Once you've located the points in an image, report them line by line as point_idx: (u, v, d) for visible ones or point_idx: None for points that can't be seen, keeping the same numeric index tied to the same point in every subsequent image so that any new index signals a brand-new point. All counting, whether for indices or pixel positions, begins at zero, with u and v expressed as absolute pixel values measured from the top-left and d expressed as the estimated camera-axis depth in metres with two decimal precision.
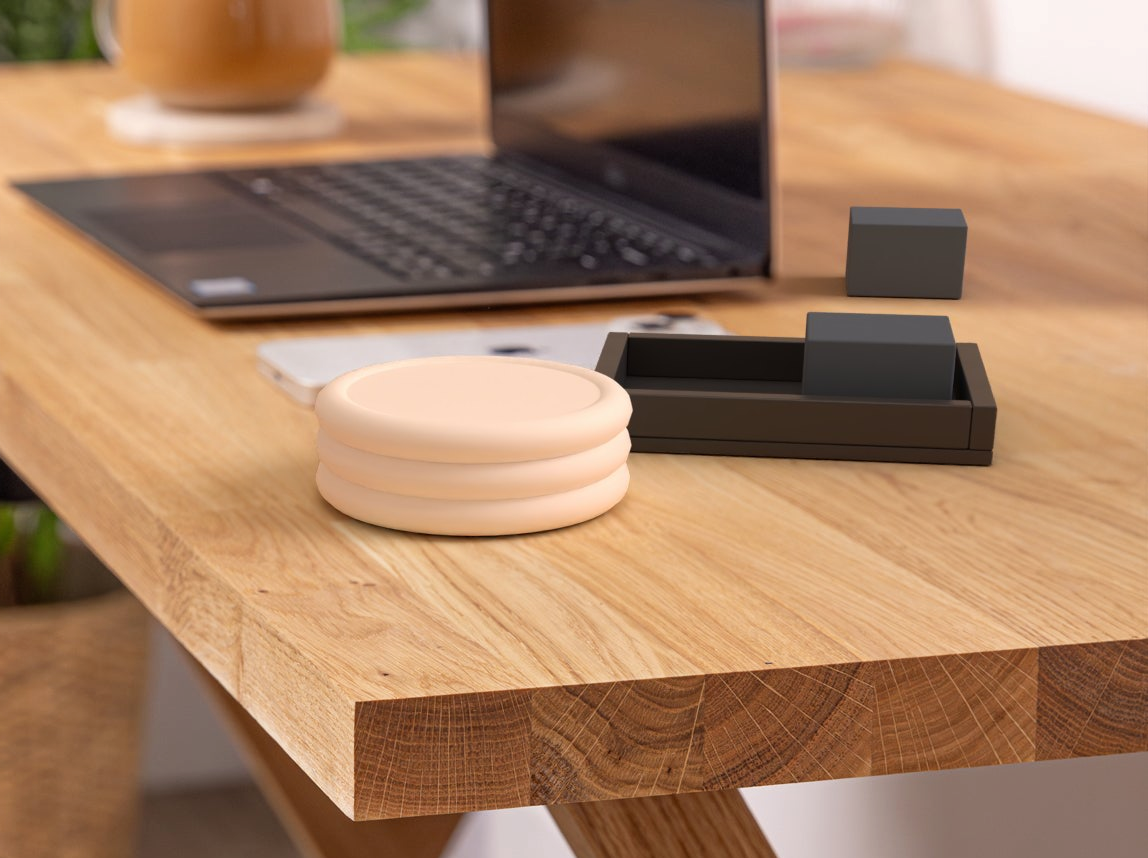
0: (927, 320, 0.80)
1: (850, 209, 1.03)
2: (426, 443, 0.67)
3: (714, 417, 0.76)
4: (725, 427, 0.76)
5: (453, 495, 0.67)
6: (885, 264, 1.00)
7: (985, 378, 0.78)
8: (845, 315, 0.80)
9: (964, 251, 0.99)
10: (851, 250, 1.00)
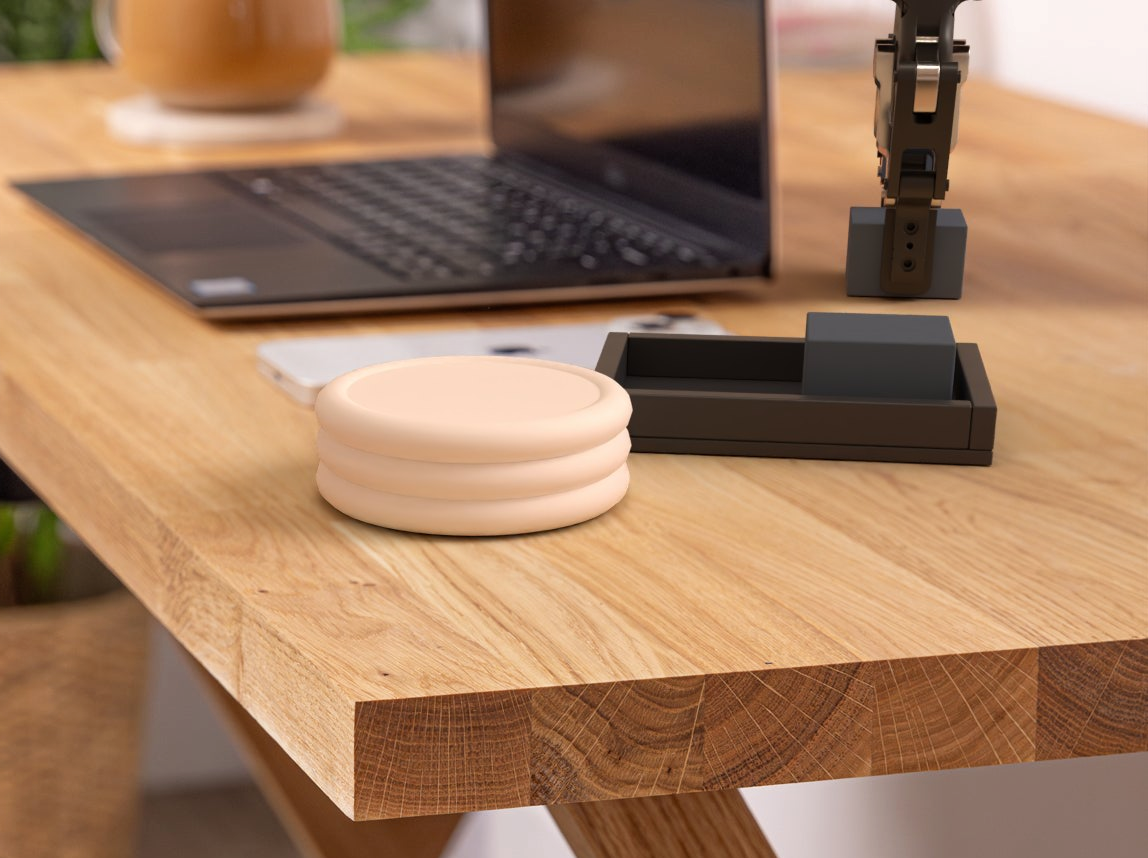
0: (927, 320, 0.80)
1: (850, 209, 1.03)
2: (426, 443, 0.67)
3: (714, 417, 0.76)
4: (725, 427, 0.76)
5: (453, 495, 0.67)
6: None
7: (985, 378, 0.78)
8: (845, 315, 0.80)
9: (964, 251, 0.99)
10: (851, 250, 1.00)
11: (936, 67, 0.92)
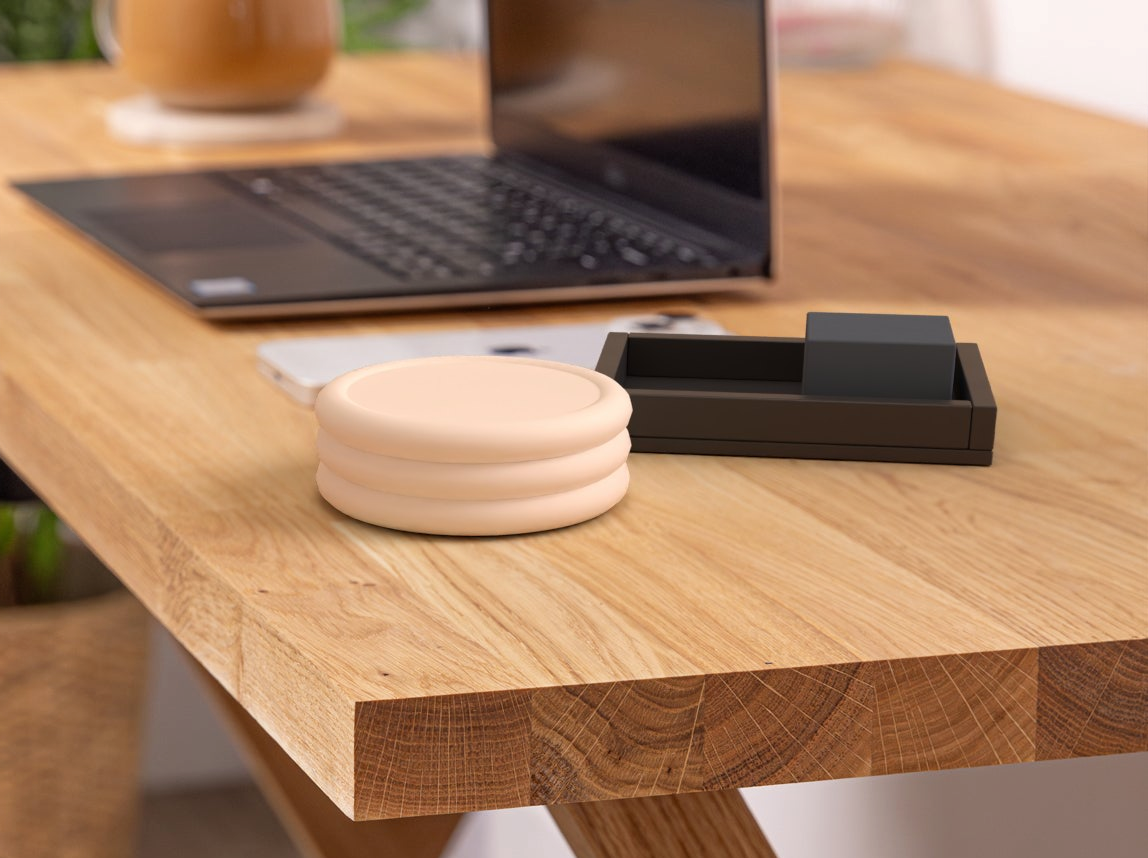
0: (927, 320, 0.80)
1: None
2: (426, 443, 0.67)
3: (714, 417, 0.76)
4: (725, 427, 0.76)
5: (453, 495, 0.67)
6: None
7: (985, 378, 0.78)
8: (845, 315, 0.80)
9: None
10: None
11: None
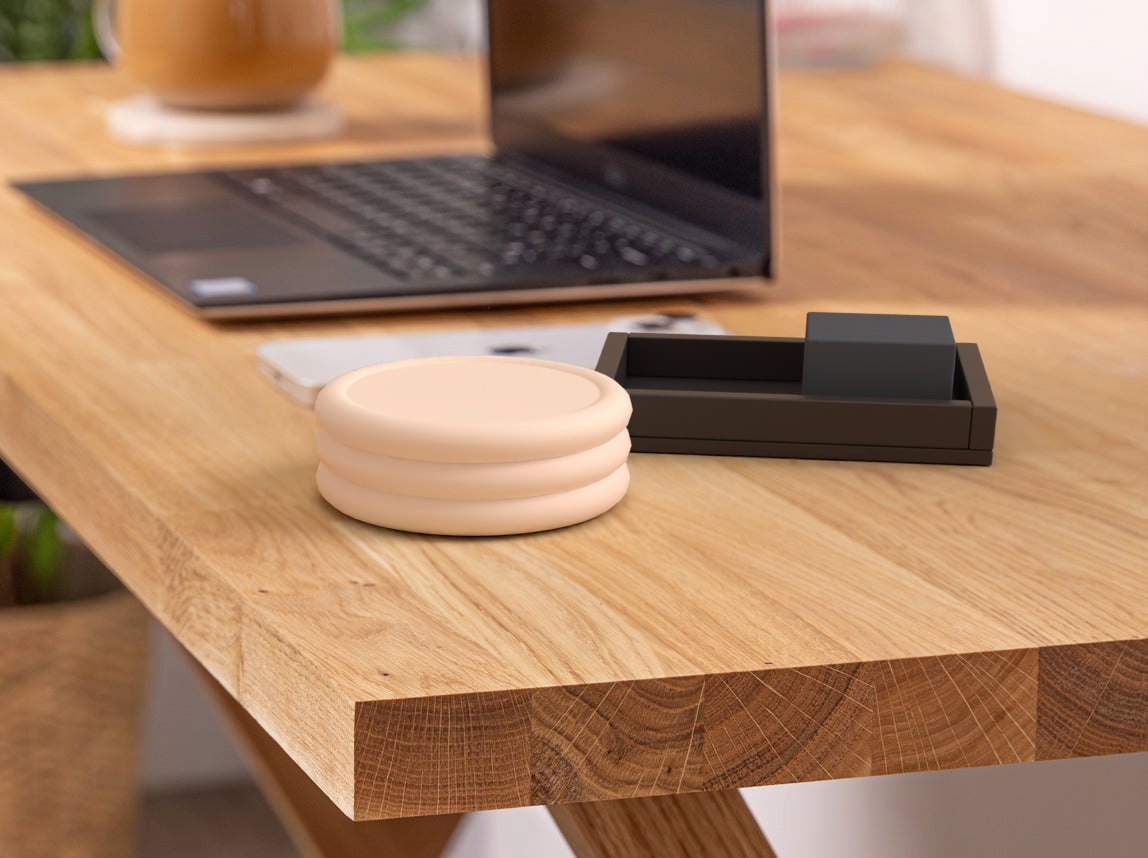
0: (927, 320, 0.80)
1: None
2: (426, 443, 0.67)
3: (714, 417, 0.76)
4: (725, 427, 0.76)
5: (453, 495, 0.67)
6: None
7: (985, 378, 0.78)
8: (845, 315, 0.80)
9: None
10: None
11: None
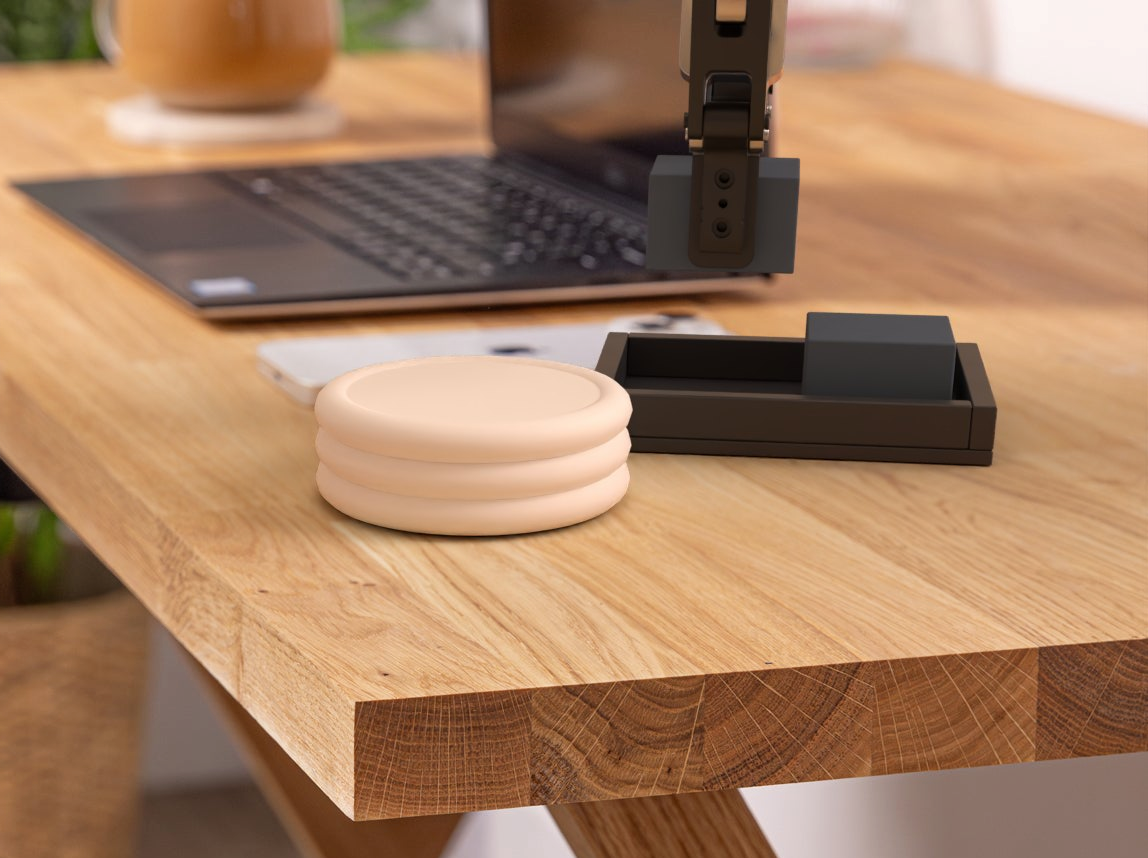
0: (927, 320, 0.80)
1: (656, 158, 0.79)
2: (426, 443, 0.67)
3: (714, 417, 0.76)
4: (725, 427, 0.76)
5: (453, 495, 0.67)
6: None
7: (985, 378, 0.78)
8: (845, 315, 0.80)
9: (796, 211, 0.75)
10: (649, 210, 0.76)
11: None
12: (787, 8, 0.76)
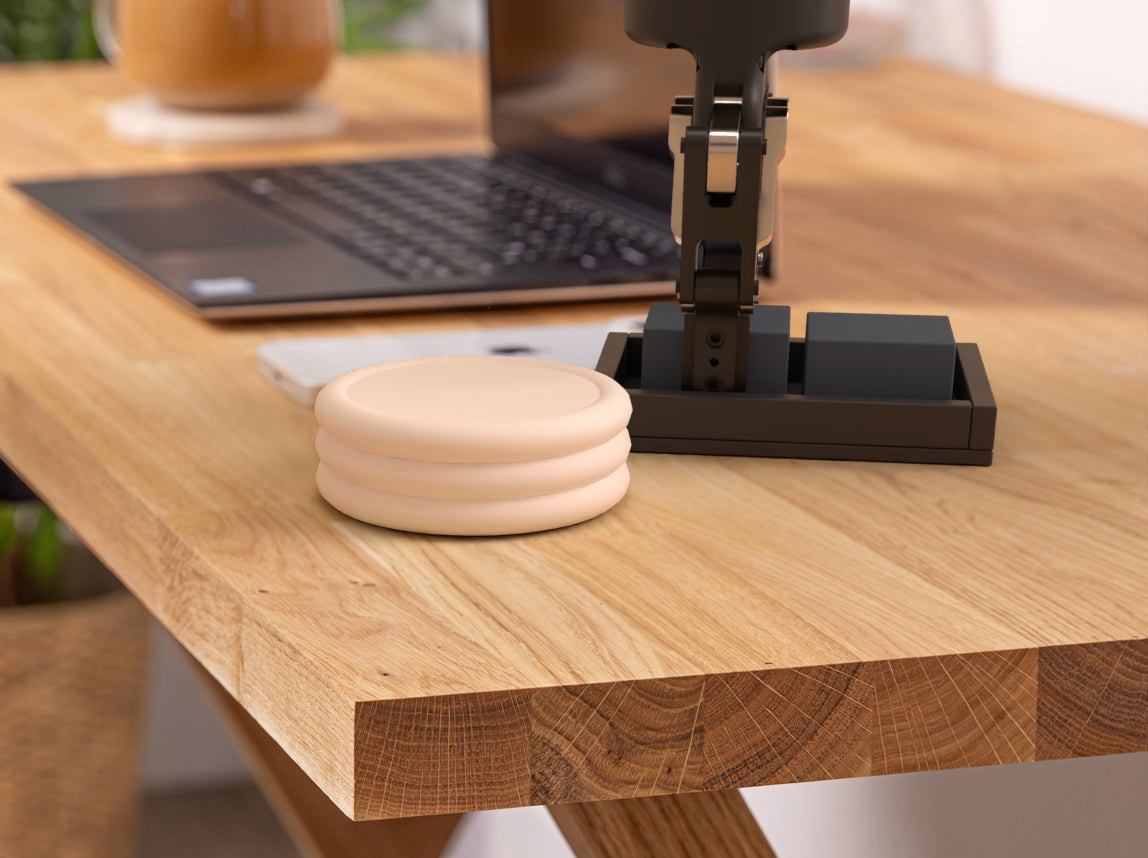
0: (927, 320, 0.80)
1: (650, 306, 0.81)
2: (426, 443, 0.67)
3: (714, 417, 0.76)
4: (725, 427, 0.76)
5: (453, 495, 0.67)
6: None
7: (985, 378, 0.78)
8: (845, 315, 0.80)
9: (786, 365, 0.77)
10: (643, 362, 0.78)
11: (734, 134, 0.71)
12: (777, 168, 0.78)
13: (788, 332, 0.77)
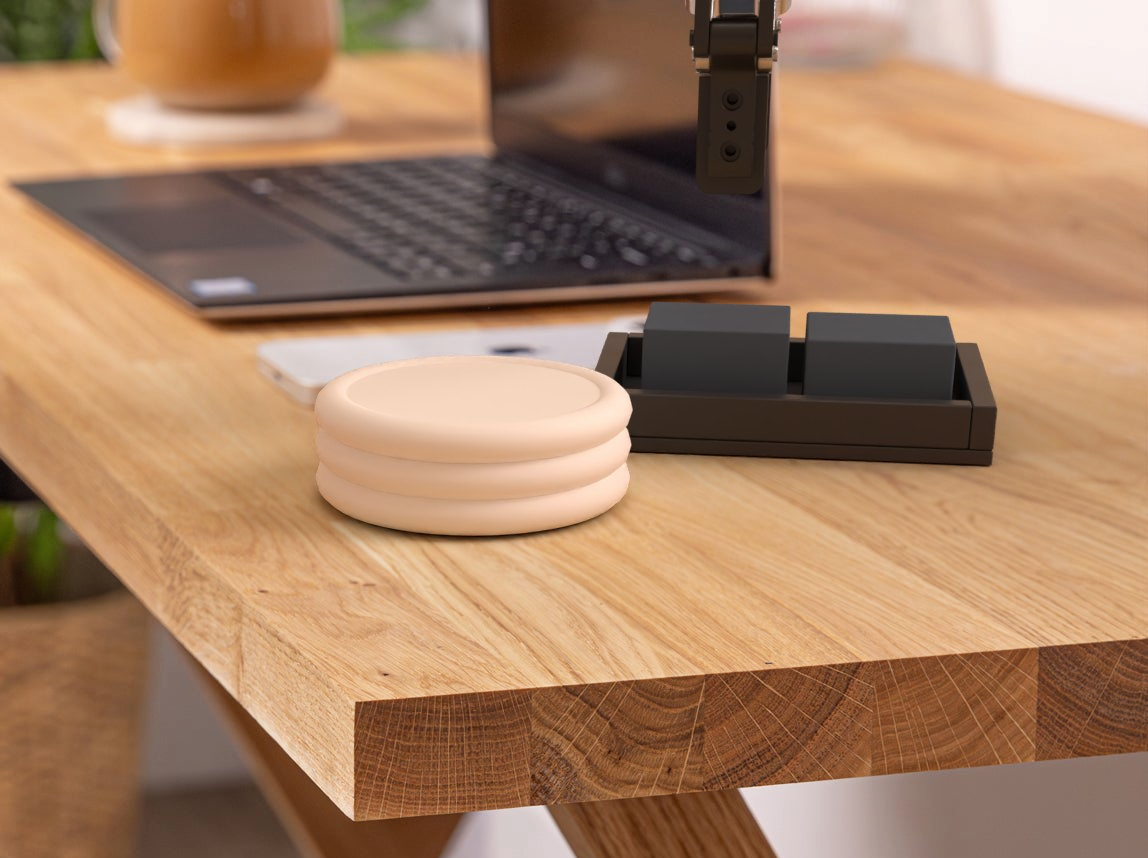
0: (927, 320, 0.80)
1: (650, 306, 0.81)
2: (426, 443, 0.67)
3: (714, 417, 0.76)
4: (725, 427, 0.76)
5: (453, 495, 0.67)
6: (687, 380, 0.78)
7: (985, 378, 0.78)
8: (845, 315, 0.80)
9: (786, 365, 0.77)
10: (643, 362, 0.78)
11: None
12: None
13: (788, 332, 0.77)
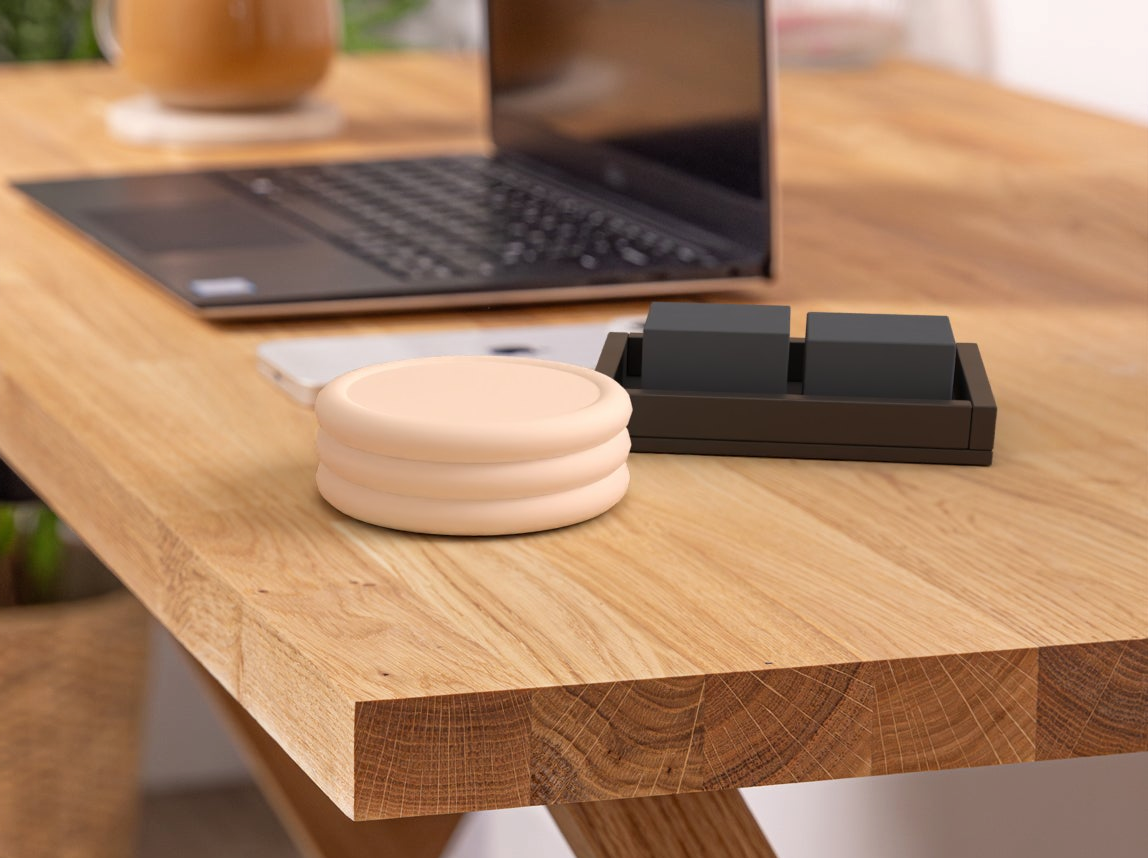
0: (927, 320, 0.80)
1: (650, 306, 0.81)
2: (426, 443, 0.67)
3: (714, 417, 0.76)
4: (725, 427, 0.76)
5: (453, 495, 0.67)
6: (687, 380, 0.78)
7: (985, 378, 0.78)
8: (845, 315, 0.80)
9: (786, 365, 0.77)
10: (643, 362, 0.78)
11: None
12: None
13: (788, 332, 0.77)
